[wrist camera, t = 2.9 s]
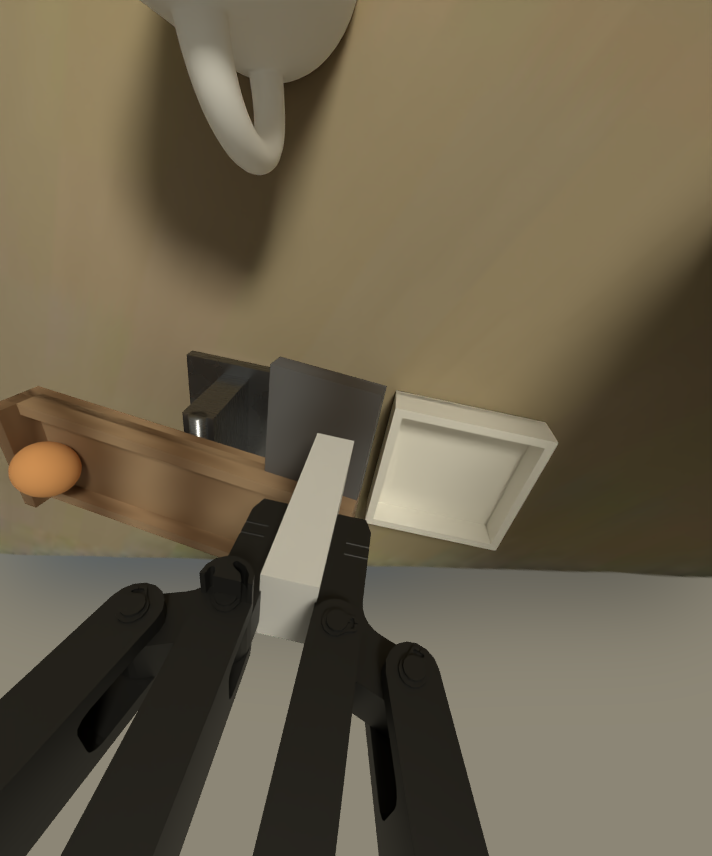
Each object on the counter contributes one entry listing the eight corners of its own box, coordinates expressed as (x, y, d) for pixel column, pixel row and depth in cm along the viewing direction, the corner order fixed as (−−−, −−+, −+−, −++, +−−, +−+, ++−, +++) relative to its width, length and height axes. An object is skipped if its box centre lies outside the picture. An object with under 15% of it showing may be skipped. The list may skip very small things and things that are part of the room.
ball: (59, 465, 23) (4, 497, 21) (46, 424, 22) (-17, 452, 19) (99, 483, 23) (47, 517, 20) (88, 441, 21) (30, 473, 19)
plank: (67, 475, 25) (25, 503, 23) (3, 280, 18) (-67, 289, 16) (340, 570, 23) (326, 612, 20) (386, 385, 16) (372, 416, 14)
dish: (367, 499, 31) (364, 522, 29) (396, 390, 26) (395, 408, 23) (489, 526, 31) (495, 550, 29) (545, 422, 25) (558, 443, 23)
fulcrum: (200, 461, 31) (152, 521, 25) (192, 350, 26) (129, 394, 20) (280, 478, 31) (251, 542, 25) (289, 371, 26) (255, 421, 20)
